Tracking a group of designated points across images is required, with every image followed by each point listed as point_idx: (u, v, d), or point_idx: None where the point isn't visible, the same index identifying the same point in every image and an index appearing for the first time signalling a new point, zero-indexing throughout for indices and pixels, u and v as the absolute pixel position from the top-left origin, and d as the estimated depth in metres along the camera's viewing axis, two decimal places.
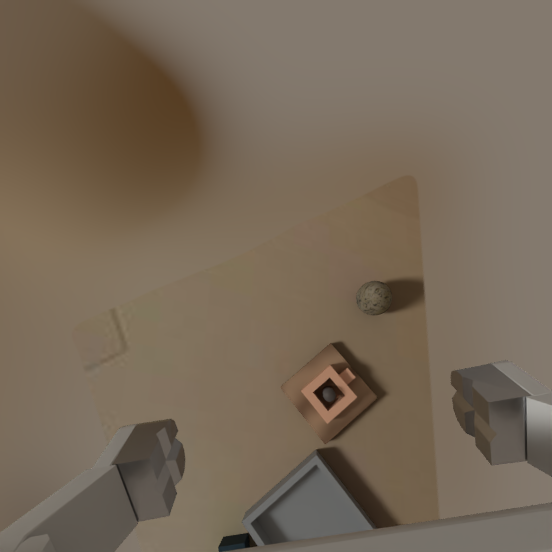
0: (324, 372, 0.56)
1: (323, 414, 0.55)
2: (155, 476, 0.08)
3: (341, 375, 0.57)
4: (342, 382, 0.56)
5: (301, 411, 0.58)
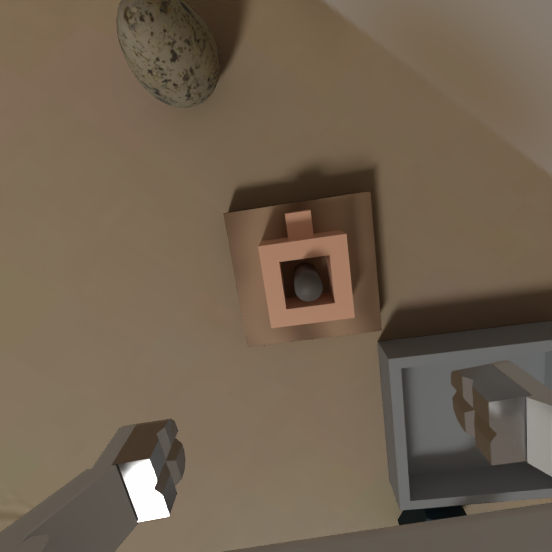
0: (263, 265, 0.25)
1: (335, 314, 0.26)
2: (155, 476, 0.08)
3: (290, 234, 0.26)
4: (302, 244, 0.25)
5: (307, 336, 0.30)
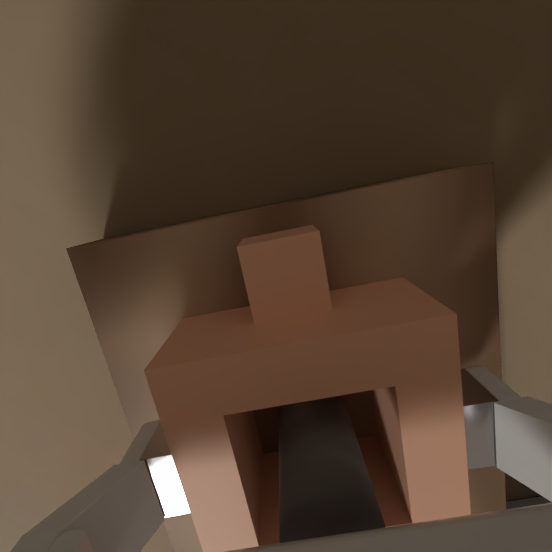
0: (172, 427, 0.07)
1: None
2: None
3: (260, 308, 0.08)
4: (301, 355, 0.07)
5: None
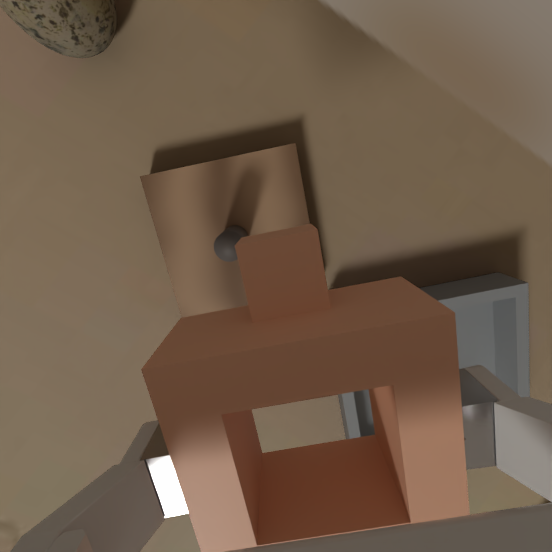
0: (169, 426, 0.07)
1: None
2: None
3: (259, 307, 0.08)
4: (299, 354, 0.07)
5: (245, 305, 0.28)
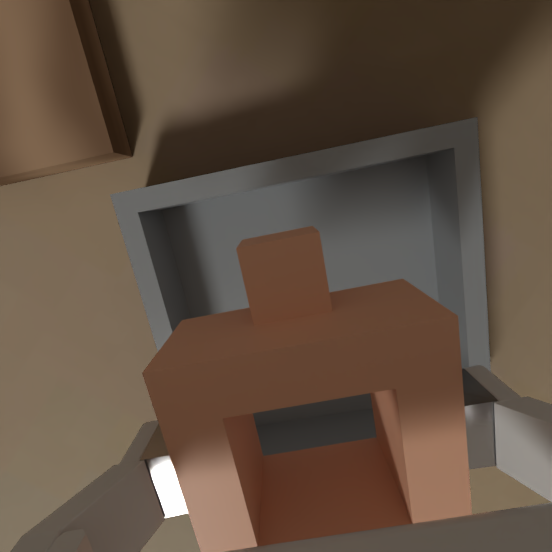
0: (170, 430, 0.07)
1: None
2: None
3: (260, 310, 0.08)
4: (301, 358, 0.07)
5: None
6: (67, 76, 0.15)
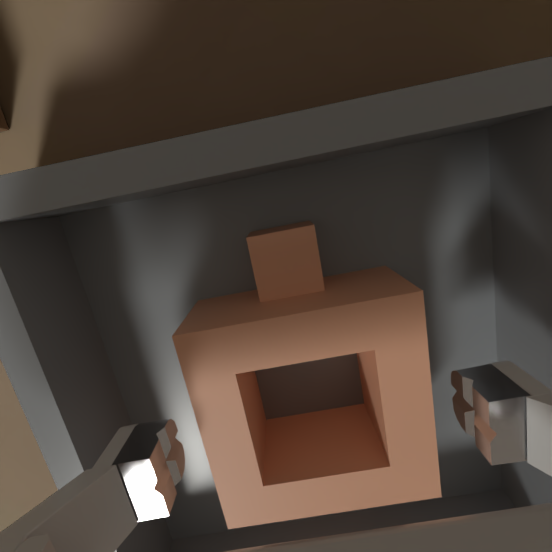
0: (193, 384, 0.09)
1: (391, 491, 0.10)
2: (155, 476, 0.08)
3: (265, 289, 0.10)
4: (299, 324, 0.09)
5: None
6: None
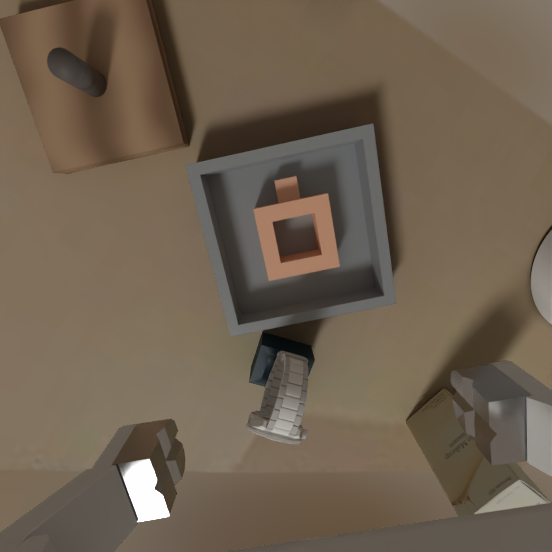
0: (259, 225, 0.29)
1: (323, 264, 0.30)
2: (155, 476, 0.08)
3: (280, 198, 0.30)
4: (291, 204, 0.29)
5: (111, 155, 0.29)
6: (159, 102, 0.28)
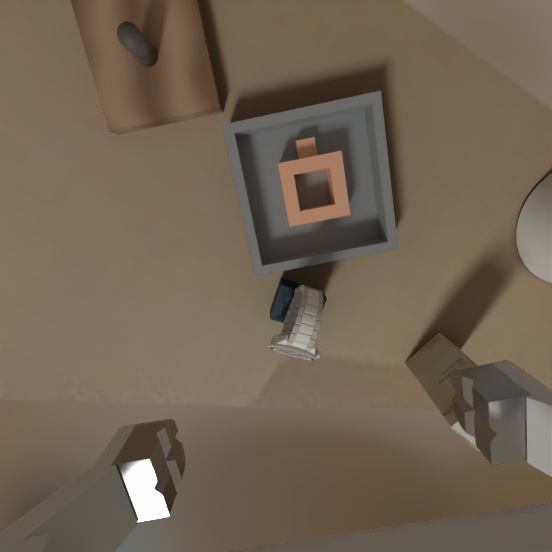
0: (282, 177, 0.34)
1: (336, 213, 0.35)
2: (155, 476, 0.08)
3: (300, 156, 0.35)
4: (310, 160, 0.34)
5: (158, 117, 0.35)
6: (201, 71, 0.34)
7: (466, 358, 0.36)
